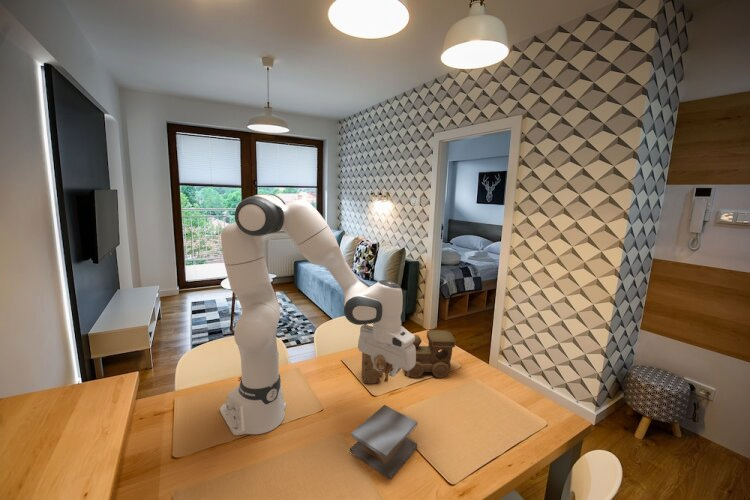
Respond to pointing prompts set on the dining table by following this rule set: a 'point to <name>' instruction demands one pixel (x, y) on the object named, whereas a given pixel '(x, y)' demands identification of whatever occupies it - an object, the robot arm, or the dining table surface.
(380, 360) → the lion figurine
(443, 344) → the wooden toy train
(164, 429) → the dining table surface
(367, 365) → the block
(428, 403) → the dining table surface
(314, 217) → the robot arm
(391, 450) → the stand
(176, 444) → the dining table surface
